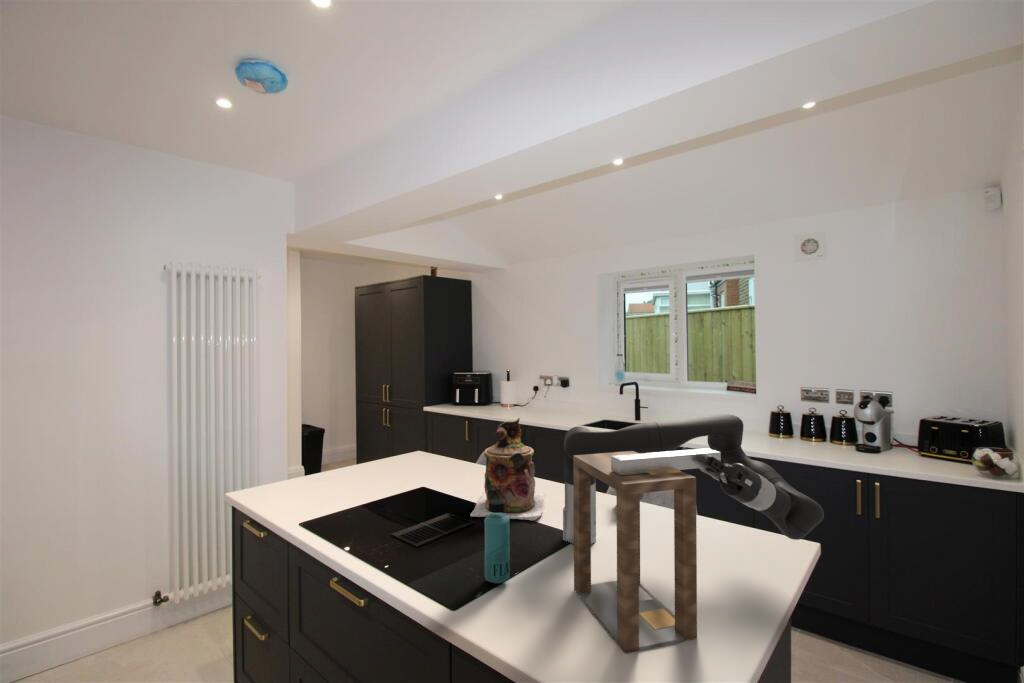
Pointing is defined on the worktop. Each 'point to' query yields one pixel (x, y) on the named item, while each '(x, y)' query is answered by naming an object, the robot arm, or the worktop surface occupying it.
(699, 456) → the gray rectangular block
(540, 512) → the cookie jar
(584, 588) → the switch shelf
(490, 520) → the beverage bottle
